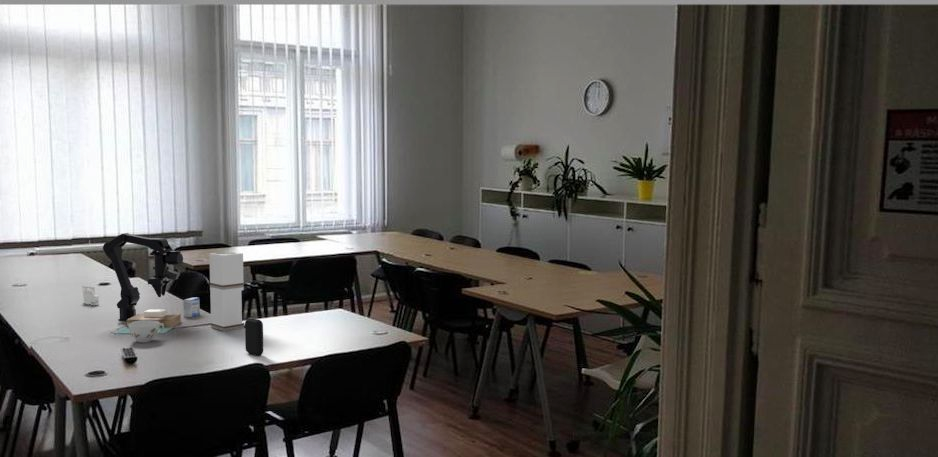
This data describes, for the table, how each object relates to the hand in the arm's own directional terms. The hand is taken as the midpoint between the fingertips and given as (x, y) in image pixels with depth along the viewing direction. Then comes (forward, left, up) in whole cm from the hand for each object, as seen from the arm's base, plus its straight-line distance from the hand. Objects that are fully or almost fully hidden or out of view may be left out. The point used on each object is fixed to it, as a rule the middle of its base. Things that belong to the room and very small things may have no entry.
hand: (161, 296), depth 383 cm
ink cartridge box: (-54, +43, -12) cm, 70 cm away
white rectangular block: (0, -8, -8) cm, 11 cm away
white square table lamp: (+36, -15, -12) cm, 41 cm away
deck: (0, -10, -12) cm, 16 cm away
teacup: (+9, -42, -12) cm, 45 cm away
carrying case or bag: (+61, -66, -12) cm, 91 cm away
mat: (0, -23, -12) cm, 26 cm away
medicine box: (+10, +13, -12) cm, 21 cm away
